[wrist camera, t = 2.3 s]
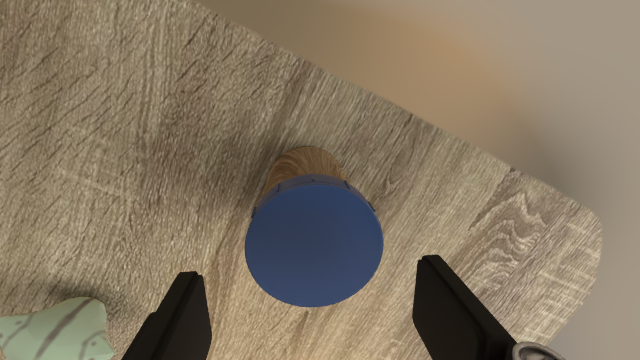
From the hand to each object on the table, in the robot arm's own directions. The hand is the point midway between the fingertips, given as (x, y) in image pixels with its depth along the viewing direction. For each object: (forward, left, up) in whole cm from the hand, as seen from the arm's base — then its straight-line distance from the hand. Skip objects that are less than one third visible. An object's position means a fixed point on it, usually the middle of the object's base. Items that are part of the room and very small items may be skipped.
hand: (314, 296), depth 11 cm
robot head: (+20, -6, -13) cm, 25 cm away
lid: (0, 0, -4) cm, 4 cm away
